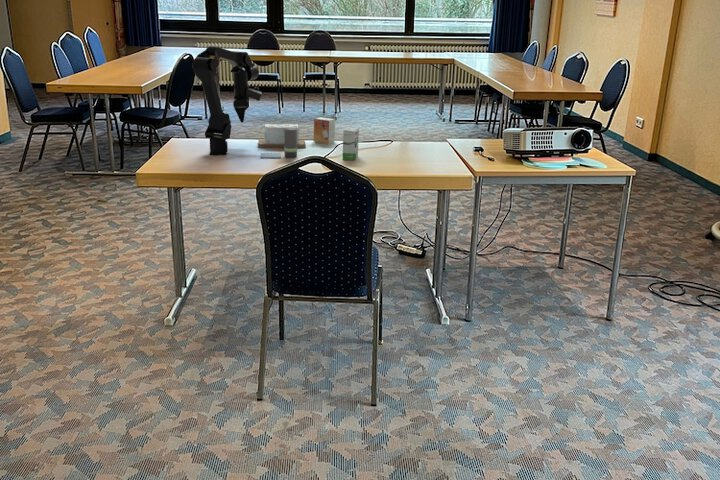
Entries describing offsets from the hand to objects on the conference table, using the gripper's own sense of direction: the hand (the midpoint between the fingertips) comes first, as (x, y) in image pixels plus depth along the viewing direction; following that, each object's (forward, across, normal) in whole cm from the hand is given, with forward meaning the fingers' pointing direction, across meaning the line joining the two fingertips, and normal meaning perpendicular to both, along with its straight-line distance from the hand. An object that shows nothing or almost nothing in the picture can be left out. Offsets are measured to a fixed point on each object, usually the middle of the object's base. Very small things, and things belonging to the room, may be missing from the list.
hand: (242, 120), depth 293 cm
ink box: (+11, -24, -43) cm, 51 cm away
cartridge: (+10, -22, -19) cm, 31 cm away
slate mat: (+10, -22, -11) cm, 27 cm away
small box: (+12, +8, -35) cm, 38 cm away
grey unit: (+11, 0, -16) cm, 20 cm away
